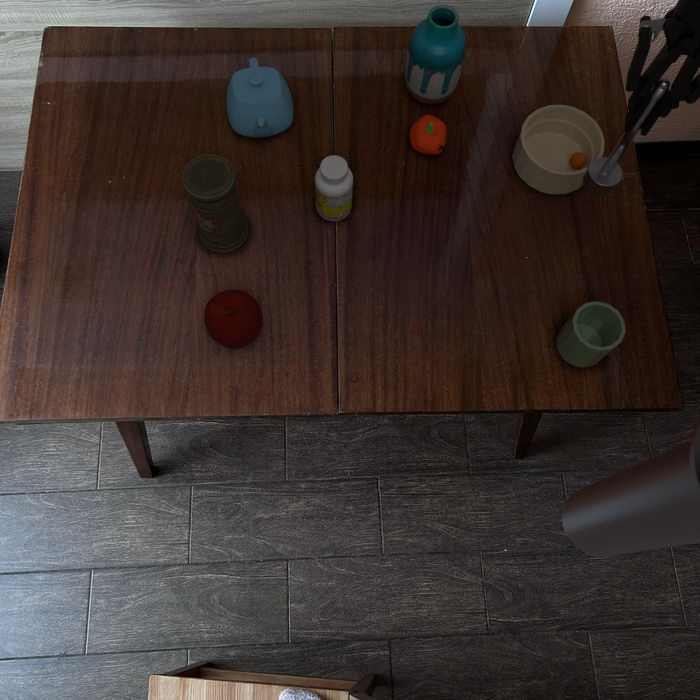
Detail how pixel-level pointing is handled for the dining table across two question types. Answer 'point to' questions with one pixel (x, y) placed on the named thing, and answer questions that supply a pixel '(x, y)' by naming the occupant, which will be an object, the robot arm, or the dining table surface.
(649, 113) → the ladle
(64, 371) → the dining table surface
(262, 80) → the teapot
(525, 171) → the bowl
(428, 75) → the vase
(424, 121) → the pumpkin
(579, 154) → the ball
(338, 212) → the supplement bottle
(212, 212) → the container
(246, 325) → the apple
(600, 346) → the cup
